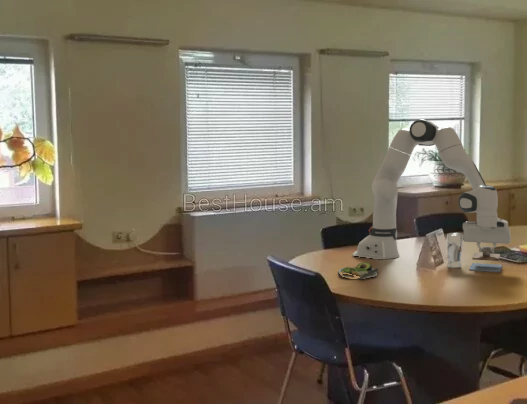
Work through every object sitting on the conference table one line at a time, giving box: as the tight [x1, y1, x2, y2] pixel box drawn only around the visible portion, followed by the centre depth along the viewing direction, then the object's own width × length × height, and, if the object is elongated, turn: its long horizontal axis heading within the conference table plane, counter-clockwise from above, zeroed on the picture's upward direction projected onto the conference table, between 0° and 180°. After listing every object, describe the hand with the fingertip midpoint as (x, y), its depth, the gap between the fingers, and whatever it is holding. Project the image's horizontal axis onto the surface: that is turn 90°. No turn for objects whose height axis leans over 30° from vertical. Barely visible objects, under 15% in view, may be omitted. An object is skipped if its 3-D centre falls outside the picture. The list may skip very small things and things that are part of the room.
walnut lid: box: [472, 245, 501, 262], centre depth 299 cm, size 11×11×5 cm
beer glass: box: [446, 232, 464, 269], centre depth 303 cm, size 7×7×15 cm
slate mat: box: [468, 262, 503, 273], centre depth 300 cm, size 13×13×1 cm
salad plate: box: [338, 261, 379, 280], centre depth 291 cm, size 19×18×5 cm
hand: (486, 252), depth 299 cm, fingers closed on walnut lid, 3 cm apart
